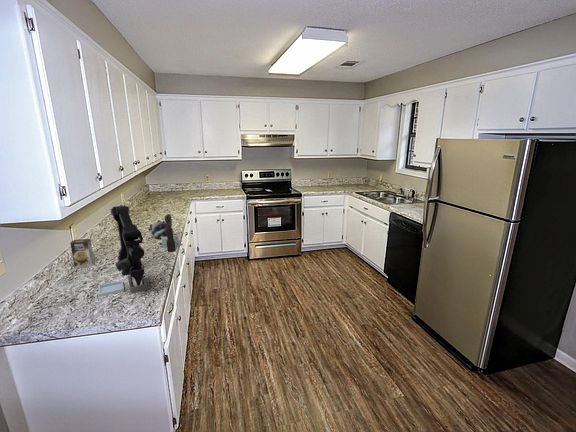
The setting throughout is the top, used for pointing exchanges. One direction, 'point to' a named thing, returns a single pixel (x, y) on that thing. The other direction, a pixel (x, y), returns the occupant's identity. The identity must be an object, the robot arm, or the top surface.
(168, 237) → the dark tall piece
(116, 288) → the tray
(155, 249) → the top surface
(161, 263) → the top surface
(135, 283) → the plug
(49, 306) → the top surface
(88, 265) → the coffee box
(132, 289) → the grey boxy piece
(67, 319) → the top surface
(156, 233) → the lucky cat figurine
